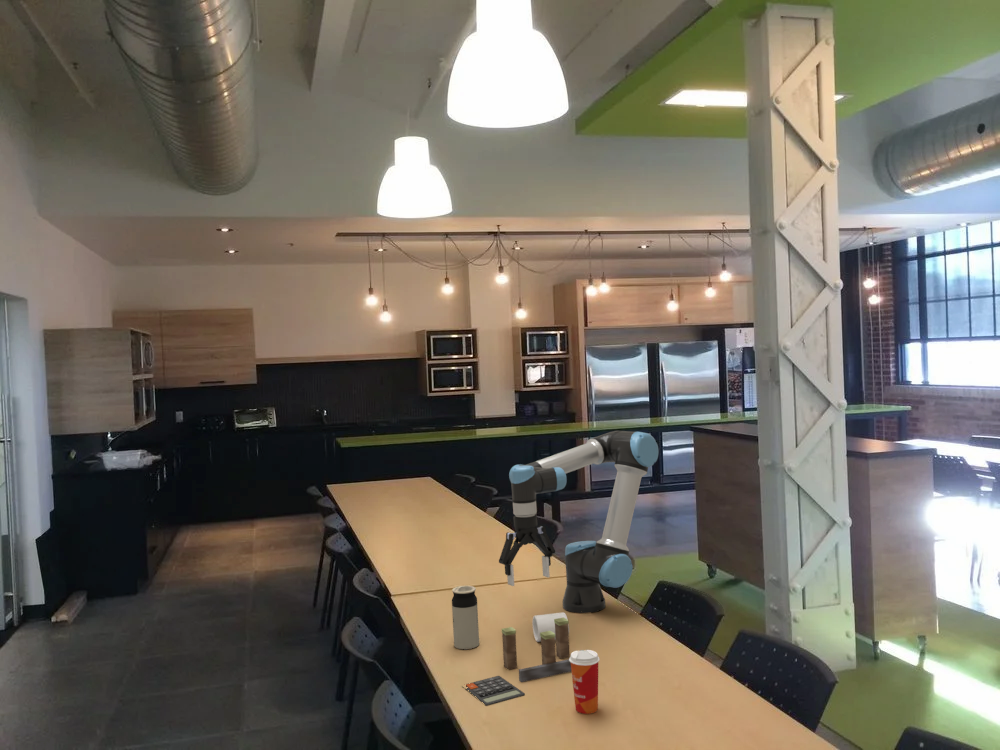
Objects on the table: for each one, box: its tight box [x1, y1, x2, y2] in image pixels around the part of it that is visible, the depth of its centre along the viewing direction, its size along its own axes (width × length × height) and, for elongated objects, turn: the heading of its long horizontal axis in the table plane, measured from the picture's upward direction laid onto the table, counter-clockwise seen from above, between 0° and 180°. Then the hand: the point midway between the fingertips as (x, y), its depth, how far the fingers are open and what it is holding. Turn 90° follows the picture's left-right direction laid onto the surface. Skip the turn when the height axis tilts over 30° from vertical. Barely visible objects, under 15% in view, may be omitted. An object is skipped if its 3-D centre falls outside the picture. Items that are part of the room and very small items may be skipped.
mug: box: [531, 611, 570, 643], centre depth 255 cm, size 12×10×8 cm
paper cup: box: [568, 649, 600, 715], centre depth 201 cm, size 8×8×14 cm
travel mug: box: [451, 585, 480, 650], centre depth 251 cm, size 8×8×18 cm
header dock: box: [501, 618, 572, 683], centre depth 230 cm, size 20×13×11 cm, turn 112°
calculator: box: [466, 675, 525, 707], centre depth 216 cm, size 12×1×15 cm
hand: (528, 580), depth 254 cm, fingers open, 13 cm apart
